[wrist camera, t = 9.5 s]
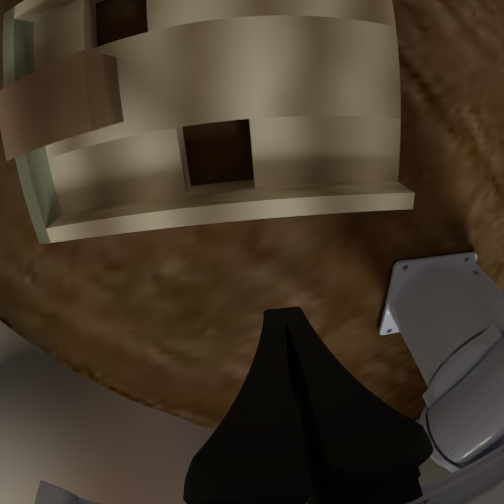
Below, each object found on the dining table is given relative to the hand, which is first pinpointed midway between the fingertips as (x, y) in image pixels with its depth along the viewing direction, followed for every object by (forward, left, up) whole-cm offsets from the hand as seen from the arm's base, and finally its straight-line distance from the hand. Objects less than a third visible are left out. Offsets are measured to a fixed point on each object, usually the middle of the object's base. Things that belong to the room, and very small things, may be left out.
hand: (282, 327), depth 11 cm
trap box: (+2, -10, -10) cm, 14 cm away
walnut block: (+10, -10, -8) cm, 17 cm away
